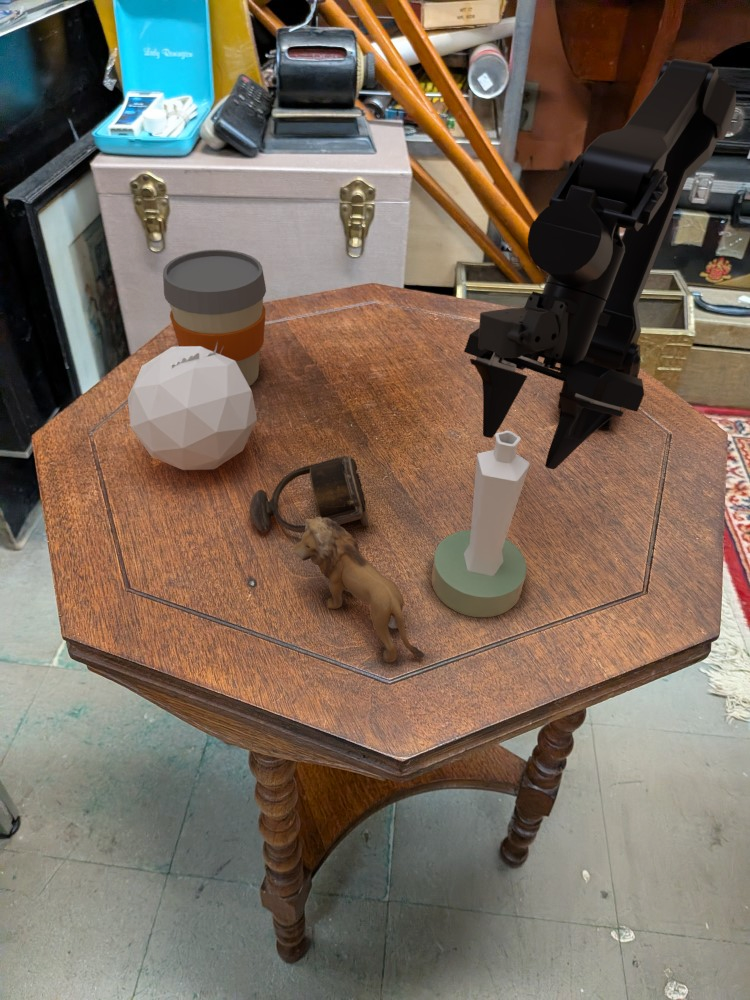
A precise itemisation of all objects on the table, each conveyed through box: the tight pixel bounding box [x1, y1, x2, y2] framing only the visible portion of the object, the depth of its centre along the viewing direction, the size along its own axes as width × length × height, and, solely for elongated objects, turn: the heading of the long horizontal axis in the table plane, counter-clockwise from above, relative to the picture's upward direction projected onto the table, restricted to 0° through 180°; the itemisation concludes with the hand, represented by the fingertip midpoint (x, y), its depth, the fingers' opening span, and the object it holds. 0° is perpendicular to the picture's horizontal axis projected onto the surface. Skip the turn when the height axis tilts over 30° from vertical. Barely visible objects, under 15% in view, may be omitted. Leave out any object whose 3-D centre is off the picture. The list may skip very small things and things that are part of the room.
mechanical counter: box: [249, 455, 369, 534], centre depth 76 cm, size 7×13×10 cm
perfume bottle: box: [464, 430, 531, 576], centre depth 65 cm, size 5×4×15 cm
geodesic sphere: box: [127, 343, 258, 471], centre depth 81 cm, size 15×14×14 cm
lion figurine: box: [292, 516, 426, 663], centre depth 66 cm, size 15×5×9 cm, turn 50°
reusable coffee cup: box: [162, 249, 267, 387], centre depth 94 cm, size 13×13×15 cm
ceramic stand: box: [430, 529, 528, 618], centre depth 71 cm, size 9×9×3 cm
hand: (517, 452), depth 70 cm, fingers open, 9 cm apart
